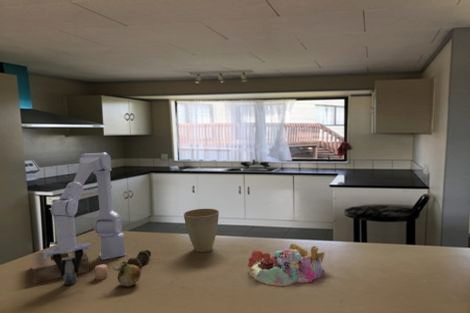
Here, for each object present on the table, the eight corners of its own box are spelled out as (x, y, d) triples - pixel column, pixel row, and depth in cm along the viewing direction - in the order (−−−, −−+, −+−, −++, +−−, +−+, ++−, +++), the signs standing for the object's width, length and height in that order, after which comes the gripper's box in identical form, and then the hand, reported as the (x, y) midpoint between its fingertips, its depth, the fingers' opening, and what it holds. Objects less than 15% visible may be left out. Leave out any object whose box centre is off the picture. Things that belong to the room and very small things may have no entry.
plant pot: (201, 241, 163) (199, 207, 162) (227, 246, 154) (225, 210, 153) (178, 251, 151) (175, 214, 150) (204, 257, 142) (202, 218, 141)
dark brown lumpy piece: (149, 262, 145) (135, 276, 130) (139, 256, 145) (123, 269, 131) (156, 250, 144) (142, 262, 130) (145, 244, 145) (130, 256, 130)
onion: (128, 292, 115) (127, 267, 114) (112, 287, 119) (110, 263, 118) (146, 282, 121) (144, 259, 120) (130, 278, 125) (128, 256, 125)
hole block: (83, 257, 149) (82, 245, 149) (89, 271, 133) (88, 258, 133) (33, 266, 140) (32, 254, 140) (33, 283, 125) (32, 269, 124)
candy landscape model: (282, 255, 142) (282, 232, 142) (336, 270, 126) (335, 244, 125) (238, 274, 125) (237, 249, 124) (293, 295, 108) (292, 265, 108)
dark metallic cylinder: (76, 278, 126) (74, 256, 125) (77, 282, 122) (75, 259, 122) (63, 281, 124) (61, 258, 123) (64, 285, 120) (62, 262, 120)
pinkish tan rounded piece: (106, 274, 130) (105, 263, 129) (108, 278, 126) (108, 267, 126) (94, 276, 128) (93, 266, 127) (96, 280, 124) (96, 269, 124)
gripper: (42, 241, 115) (46, 282, 116) (90, 233, 122) (93, 272, 123) (42, 236, 121) (45, 275, 122) (88, 228, 128) (91, 265, 129)
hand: (69, 273), depth 123 cm, fingers closed on dark metallic cylinder, 4 cm apart
